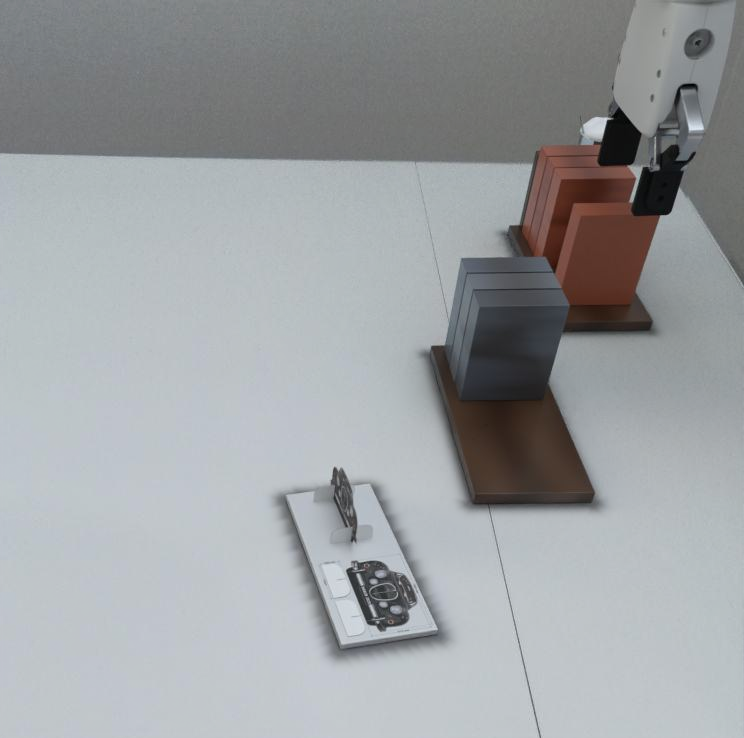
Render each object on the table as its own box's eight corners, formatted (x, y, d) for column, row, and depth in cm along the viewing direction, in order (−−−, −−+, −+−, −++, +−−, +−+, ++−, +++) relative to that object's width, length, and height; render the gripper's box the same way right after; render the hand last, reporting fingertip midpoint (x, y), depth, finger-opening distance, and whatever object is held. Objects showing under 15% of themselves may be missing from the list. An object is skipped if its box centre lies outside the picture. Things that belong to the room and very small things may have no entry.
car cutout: (285, 499, 75) (288, 453, 72) (369, 487, 75) (375, 442, 72) (340, 649, 64) (346, 603, 61) (437, 634, 65) (448, 588, 62)
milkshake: (548, 197, 110) (570, 107, 103) (592, 193, 111) (617, 102, 104) (566, 216, 107) (590, 123, 100) (612, 211, 107) (639, 119, 100)
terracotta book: (623, 291, 94) (652, 201, 87) (631, 304, 92) (661, 214, 86) (550, 292, 94) (573, 203, 87) (556, 305, 92) (580, 215, 86)
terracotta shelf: (591, 232, 104) (618, 138, 97) (650, 330, 91) (685, 229, 84) (507, 233, 104) (527, 140, 97) (552, 331, 91) (580, 230, 84)
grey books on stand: (529, 353, 88) (555, 251, 81) (592, 502, 74) (630, 394, 67) (429, 354, 88) (447, 252, 81) (472, 503, 74) (498, 396, 67)
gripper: (793, 0, 67) (712, 234, 79) (701, -65, 79) (643, 146, 91) (682, 5, 67) (618, 237, 79) (607, -60, 79) (562, 149, 91)
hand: (631, 188), depth 85 cm, fingers open, 9 cm apart
